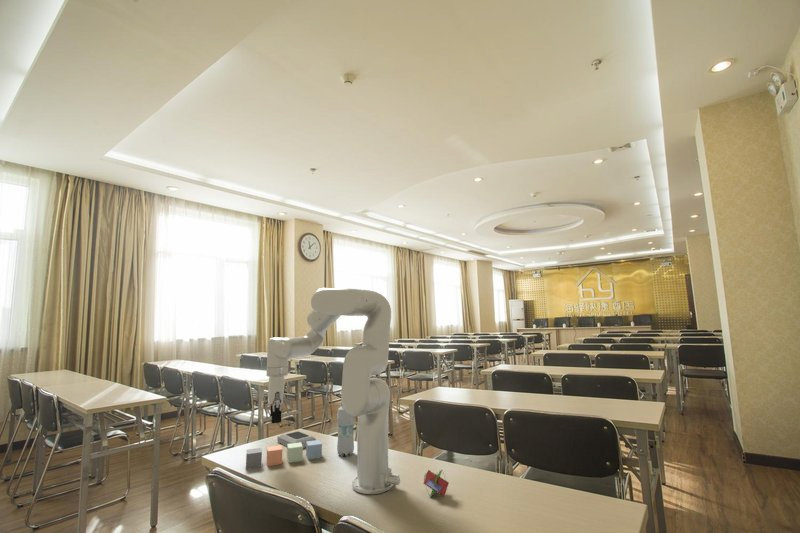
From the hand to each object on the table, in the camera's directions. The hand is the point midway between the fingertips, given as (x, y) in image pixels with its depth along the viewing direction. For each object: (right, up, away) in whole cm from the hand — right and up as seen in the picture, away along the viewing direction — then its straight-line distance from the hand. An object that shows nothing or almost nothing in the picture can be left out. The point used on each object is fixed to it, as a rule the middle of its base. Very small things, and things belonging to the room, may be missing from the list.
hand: (275, 419), depth 135 cm
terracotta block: (0, -15, -2) cm, 15 cm away
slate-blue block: (+13, -15, +3) cm, 20 cm away
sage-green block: (+7, -15, 0) cm, 16 cm away
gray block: (-6, -14, -5) cm, 16 cm away
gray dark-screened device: (+3, -18, +18) cm, 26 cm away
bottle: (+25, -15, +5) cm, 30 cm away
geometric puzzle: (+56, -10, -29) cm, 64 cm away
